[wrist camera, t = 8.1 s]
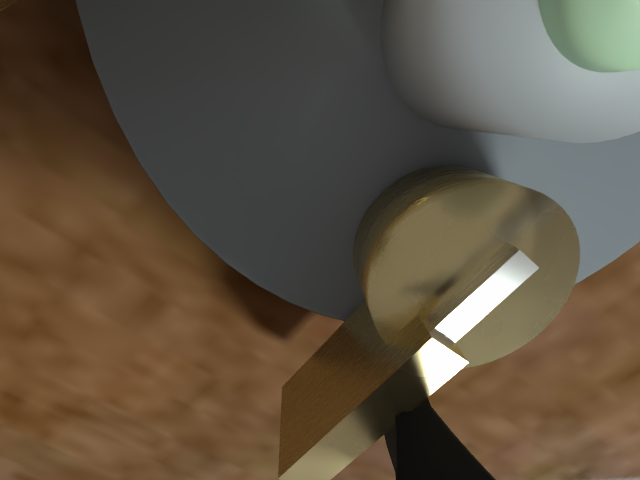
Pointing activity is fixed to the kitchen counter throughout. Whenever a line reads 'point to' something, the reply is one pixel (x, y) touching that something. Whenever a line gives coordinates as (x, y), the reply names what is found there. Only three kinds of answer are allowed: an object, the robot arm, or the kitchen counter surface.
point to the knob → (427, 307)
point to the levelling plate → (369, 117)
